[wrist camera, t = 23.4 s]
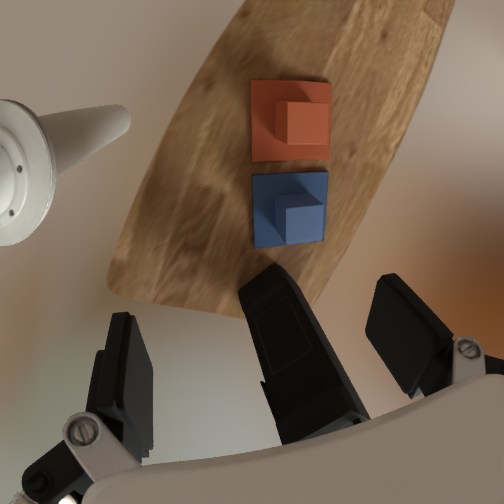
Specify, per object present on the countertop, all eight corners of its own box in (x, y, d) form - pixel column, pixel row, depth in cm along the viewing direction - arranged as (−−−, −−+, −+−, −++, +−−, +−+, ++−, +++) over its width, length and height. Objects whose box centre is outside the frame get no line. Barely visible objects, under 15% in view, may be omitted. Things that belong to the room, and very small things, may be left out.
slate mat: (253, 247, 38) (254, 248, 37) (252, 174, 33) (252, 175, 33) (322, 239, 39) (323, 240, 39) (327, 170, 35) (328, 171, 34)
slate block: (275, 229, 37) (285, 245, 33) (274, 195, 34) (285, 208, 31) (308, 224, 37) (321, 240, 34) (309, 192, 35) (323, 204, 32)
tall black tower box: (256, 320, 43) (313, 484, 22) (229, 296, 40) (278, 480, 19) (300, 287, 42) (388, 445, 21) (276, 260, 39) (367, 435, 18)
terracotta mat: (251, 161, 32) (252, 162, 32) (249, 80, 28) (250, 79, 28) (327, 158, 34) (329, 159, 34) (329, 83, 30) (331, 83, 29)
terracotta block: (274, 138, 31) (287, 144, 28) (275, 100, 29) (287, 101, 26) (311, 138, 32) (327, 144, 28) (312, 101, 30) (328, 103, 26)
